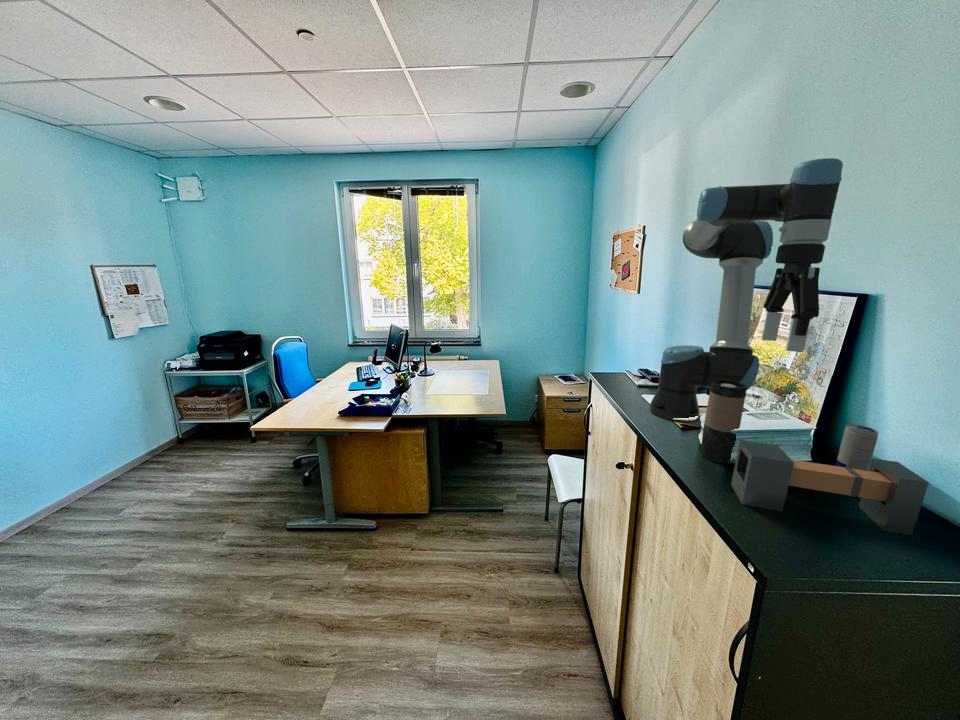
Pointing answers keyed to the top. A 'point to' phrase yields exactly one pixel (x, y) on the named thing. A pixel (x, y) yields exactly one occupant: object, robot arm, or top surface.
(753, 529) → the top surface
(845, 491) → the orange bar
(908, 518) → the socket
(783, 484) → the sleeve
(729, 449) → the travel mug
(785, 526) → the top surface
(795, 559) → the top surface
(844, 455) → the beverage can
